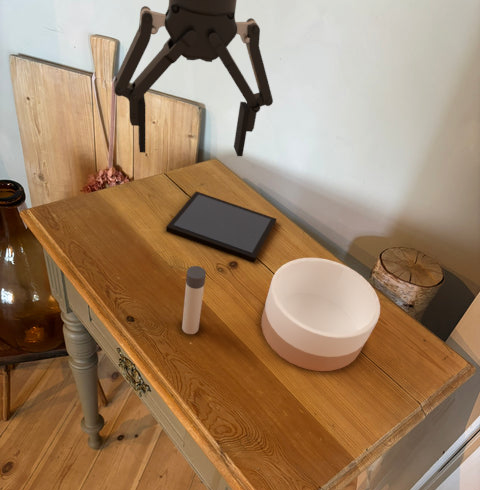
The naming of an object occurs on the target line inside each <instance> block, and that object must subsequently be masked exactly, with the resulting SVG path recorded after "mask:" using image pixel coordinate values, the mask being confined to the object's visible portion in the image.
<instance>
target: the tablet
mask: <svg viewBox="0 0 480 490" xmlns="http://www.w3.org/2000/svg"><path fill="white" fill-rule="evenodd" d="M276 224H277V218H275V217H272V216H270V215H267V214H264V213H261V212H257V211H255V210H253V209H248V208H247V207H244V206H240V205H238V204H235V203H231V202H228V201H226V200H223V199H220V198H217V197H214V196H211V195H209V194H205V193H203V192H200V191H197V190H196V191H195V192H194V193H193V194H192V195H191V197H190V198H189V199H188V200H187V201H186V203H184V205H183V206H182V207H181V209H179V211H178V212H177V213H176V215H175V216H174V217H173V218H172V219H171V220H170V221H169V223H168V224H167V225H166V227H165V229H166V232H167V233H169V234H172V235H175V236H178V237H181V238H184V239H185V240H189V241H191V242H195V243H197V244H201V245H203V246H206V247H209V248H211V249H215V250H217V251H220V252H222V253H225V254H227V255H231V256H234V257H237V258H239V259H241V260H245V261H247V262H251V263H253V264H254V263H255V262H256V260H257V258H258V257H259V254H260V253H261V251H262V250H263V248H264V246H265V244H266V242H267V240H268V238H269V237H270V235H271V233H272V231H273V229H274V228H275V225H276Z"/></svg>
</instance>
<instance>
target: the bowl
mask: <svg viewBox="0 0 480 490" xmlns="http://www.w3.org/2000/svg"><path fill="white" fill-rule="evenodd" d="M380 315H381V304H380V298H379V296H378V294H377V292H376V290H375V289H374V287H373V286H372V284H371V283H370V282H369V281H368V280H366V278H365V277H363V275H361V274H360V273H358V272H357V271H356V270H354V269H352V268H351V267H349V266H347V265H345V264H342V263H340V262H338V261H334V260H331V259H327V258H321V257H302V258H296V259H293V260H290V261H288V262H286V263H285V264H283V265H281V266H280V267H279V268H278V269H277V270H276V272H275V273H274V274H273V276H272V278H271V282H270V284H269V289H268V292H267V296H266V299H265V304H264V308H263V311H262V315H261V326H260V327H261V329H262V334H263V337H264V338H265V340H266V343H267V344H268V345H269V346H270V348H271V349H272V350H273V351H274V352H275V353H276V354H277V355H278V356H279V357H280V358H282V359H284V360H285V361H286V362H288V363H290V364H292V365H295V366H296V367H299V368H302V369H306V370H309V371H316V372H332V371H336V370H341V369H343V368H344V367H348V366H349V365H350V364H351V363H353V362H354V361H355V360H356V358H357V357H358V356H359V354H360V353H361V351H362V349H363V348H364V346H365V344H366V342H367V341H368V339H369V337H370V336H371V334H372V333H373V330H374V328H375V327H376V325H377V323H378V321H379V318H380Z"/></svg>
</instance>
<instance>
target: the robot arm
mask: <svg viewBox="0 0 480 490" xmlns="http://www.w3.org/2000/svg"><path fill="white" fill-rule="evenodd" d="M236 7H237V0H168V7H167V10H166V11H165V13H161V12H157V11H153V10H152V9H151V8H150V7H149V6H146V5H144V6H142V7H141V9H140V12H139V23H138V28H137V31H136V32H135V35H134V37H133V39H132V42H131V43H130V46H129V48H128V50H127V52H126V54H125V56H124V58H123V61H122V63H121V65H120V67H119V70H118V72H117V74H116V75H115V78H114V80H113V91H114V94H115V95H116V96H117V97H124V98H125V99H127V101H128V108H129V109H128V110H129V111H128V112H129V122H130V125H131V126H133V127H134V126H135V127H137V128H138V129H137V130H138V131H137V133H138V150H139V153H142V154H143V153H146V97H145V95H146V93H147V92H148V91H149V90H150V89H151V88H152V86H154V84H155V83H156V82H157V81H158V80H159V79H160V78H161V76H162V75H164V73H165V72H166V71H167V70H168V69H169V68H170V66H172V64H175V63H176V62H177V61H178V60H179V59H180V57H181V56H182V57H183V58H185V59H186V60H187V61H197V60H200V61H203V62H207V63H213V61H215V60H217V59H218V58H219V60H220V62H221V63H222V64H223V66H224V68H225V69H226V71H227V72H228V74H229V76H230V77H231V79H232V80H233V82H234V83H235V85H236V87H237V88H238V90H239V92H240V93H241V95H242V96H243V98H244V100H245V101H240V102H239V109H238V116H237V121H236V122H237V123H236V129H235V136H234V143H233V148H234V151H235V154H236V157H243V156H244V149H245V143H246V137H247V132H248V133H249V132H250V133H252V132H253V131H254V129H255V124H256V118H257V113H259V112H260V110H261V107H263V106H264V107H265V106H266V107H270V106H272V105H273V103H274V99H273V95H272V91H271V87H270V83H269V80H268V77H267V76H268V75H267V72H266V68H265V65H264V61H263V57H262V53H261V49H260V38H261V37H260V36H261V35H260V34H261V29H260V27H259V25H258V22H256V20H255V19H254V18H252V17H251V18H247V20H246V21H236V9H237V8H236ZM162 27H164V28H165V31H166V32H167V34H168V35H169V38H168V39H167V40H166V42H165V43H164V44H163V46H162V48H161V49H160V50H159V51H158V53H157V54H156V55H155V56H154V57H153V58H152V60H151V61H150V62H149V63H148V64H147V66H146V67H145V68H144V69H143V70H142V71H141V72H140V74H139V75H137V77H136V78H135V79H134V80H133V82H132V83H131V84H130V82H131V80H132V79H133V76H134V75H135V72H136V70H137V68H138V66H139V64H140V62H141V61H142V58H143V56H144V54H145V52H146V50H147V47H148V46H149V43H150V40H151V38H152V35H156V34H158V32H159V30H160V28H162ZM237 35H239V37H240V40H241V41H242V43H243V44H245V47H246V50H247V54H248V57H249V60H250V65H251V68H252V72H253V75H254V79H255V82H256V85H257V89H258V92H256V93H254V92H253V89H252V88H251V87H250V85H249V83H248V82H247V80H246V78H245V76H244V75H243V72H242V71H241V70H240V68H239V66H238V65H237V63H236V61H235V59H234V58H233V56H232V54H231V53H230V51H229V50H228V48H227V47H228V46H229V45H230V44H231V42H232V41H233V40H234V39H235V38H236V36H237Z"/></svg>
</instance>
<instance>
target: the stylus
mask: <svg viewBox="0 0 480 490" xmlns="http://www.w3.org/2000/svg"><path fill="white" fill-rule="evenodd" d="M185 277H186V278H185V291H184V300H183V314H182V324H181V329H182V332H184V333H185V334H187V335H194V334H196V333H198V331H199V328H200V319H201V314H202V313H201V312H202V307H203V297H204V290H205V283H206V277H207V271H206V269H204V268H203V267H201V266H199V265H191V266H190V267H188V269H187V270H186V276H185Z"/></svg>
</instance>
